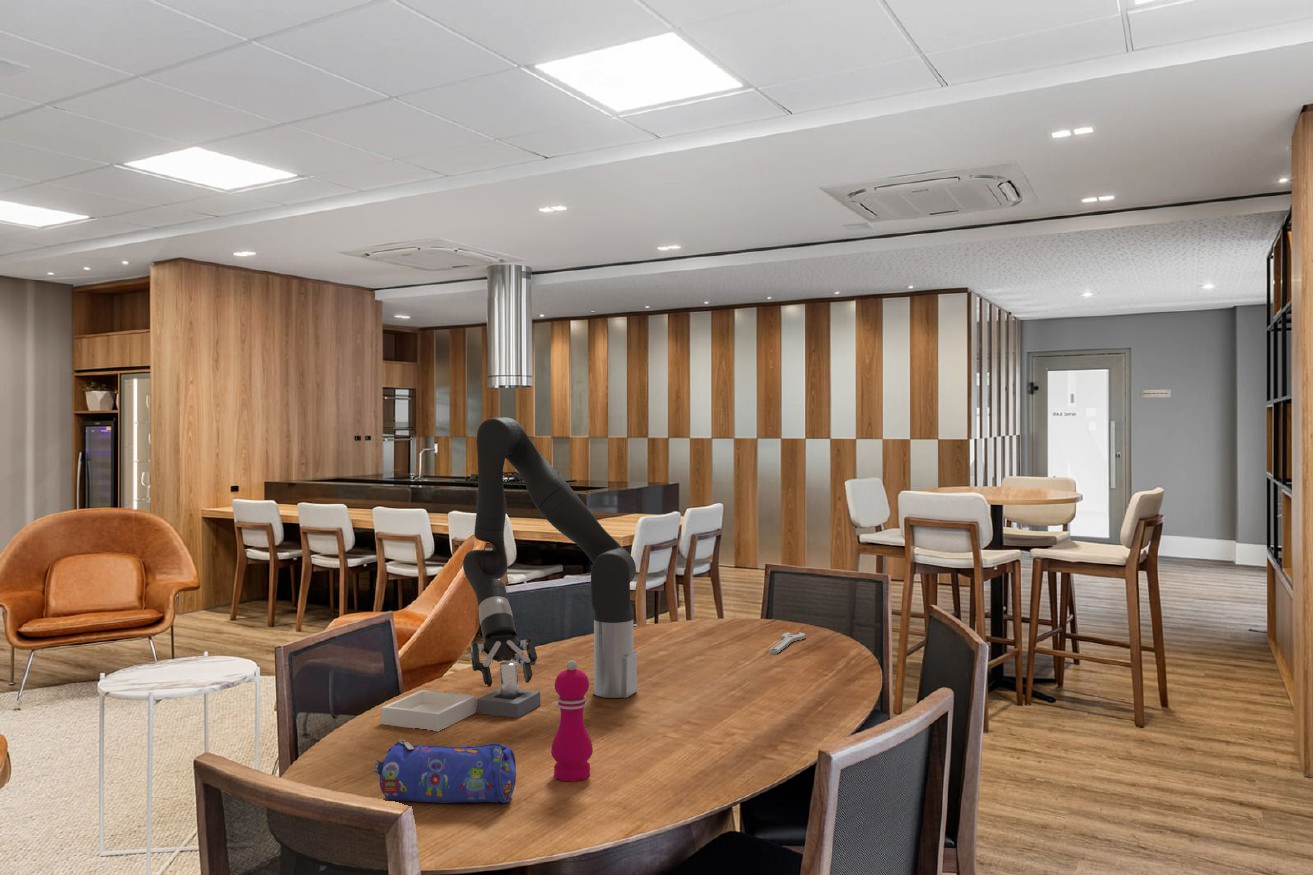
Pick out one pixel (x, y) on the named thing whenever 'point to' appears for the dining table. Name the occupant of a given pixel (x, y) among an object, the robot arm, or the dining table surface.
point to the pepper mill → (571, 726)
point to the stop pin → (509, 680)
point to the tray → (429, 710)
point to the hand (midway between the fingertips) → (509, 682)
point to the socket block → (508, 703)
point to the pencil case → (447, 773)
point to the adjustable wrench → (786, 642)
